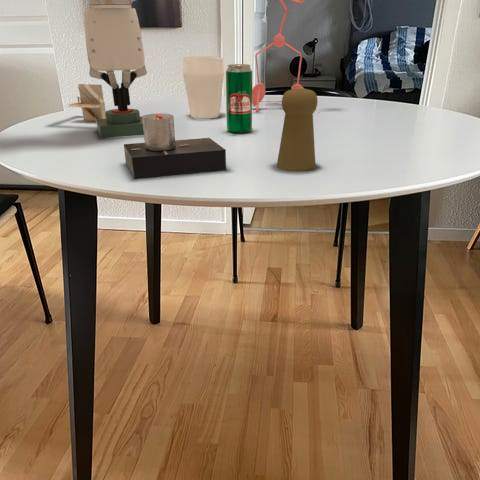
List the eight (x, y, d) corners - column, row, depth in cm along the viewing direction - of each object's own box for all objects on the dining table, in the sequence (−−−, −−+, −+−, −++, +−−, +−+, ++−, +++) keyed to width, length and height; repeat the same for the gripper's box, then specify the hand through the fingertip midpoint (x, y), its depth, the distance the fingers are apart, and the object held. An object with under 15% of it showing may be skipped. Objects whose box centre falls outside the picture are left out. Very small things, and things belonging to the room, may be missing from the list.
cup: (210, 111, 121) (208, 55, 114) (232, 117, 114) (231, 58, 108) (178, 115, 116) (174, 57, 110) (199, 121, 110) (196, 60, 103)
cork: (323, 167, 77) (329, 89, 71) (291, 173, 74) (295, 93, 69) (300, 159, 81) (304, 85, 76) (269, 164, 79) (271, 88, 73)
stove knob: (142, 145, 77) (139, 112, 74) (172, 143, 78) (169, 110, 76) (148, 152, 73) (144, 117, 71) (178, 149, 74) (176, 115, 72)
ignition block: (101, 138, 96) (98, 116, 93) (97, 130, 102) (94, 109, 100) (152, 134, 98) (150, 113, 96) (146, 127, 105) (144, 106, 103)
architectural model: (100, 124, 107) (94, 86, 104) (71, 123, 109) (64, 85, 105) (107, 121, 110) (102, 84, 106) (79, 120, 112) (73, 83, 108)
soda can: (226, 134, 98) (225, 66, 92) (226, 129, 102) (225, 63, 96) (252, 134, 98) (253, 66, 92) (251, 128, 103) (251, 63, 96)
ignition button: (115, 121, 97) (113, 112, 96) (112, 118, 100) (111, 109, 99) (133, 120, 98) (132, 110, 97) (131, 117, 101) (129, 108, 100)
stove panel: (134, 178, 72) (131, 156, 71) (126, 163, 80) (123, 143, 78) (226, 170, 76) (225, 148, 74) (210, 156, 83) (209, 136, 82)
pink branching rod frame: (329, 115, 116) (345, -76, 97) (223, 111, 121) (219, -71, 103) (335, 104, 128) (350, -66, 110) (238, 101, 134) (237, -62, 115)
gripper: (147, -1, 93) (157, 104, 103) (64, -1, 89) (82, 109, 99) (154, -2, 87) (164, 110, 97) (66, -2, 83) (85, 115, 93)
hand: (122, 109), depth 98 cm, fingers closed
